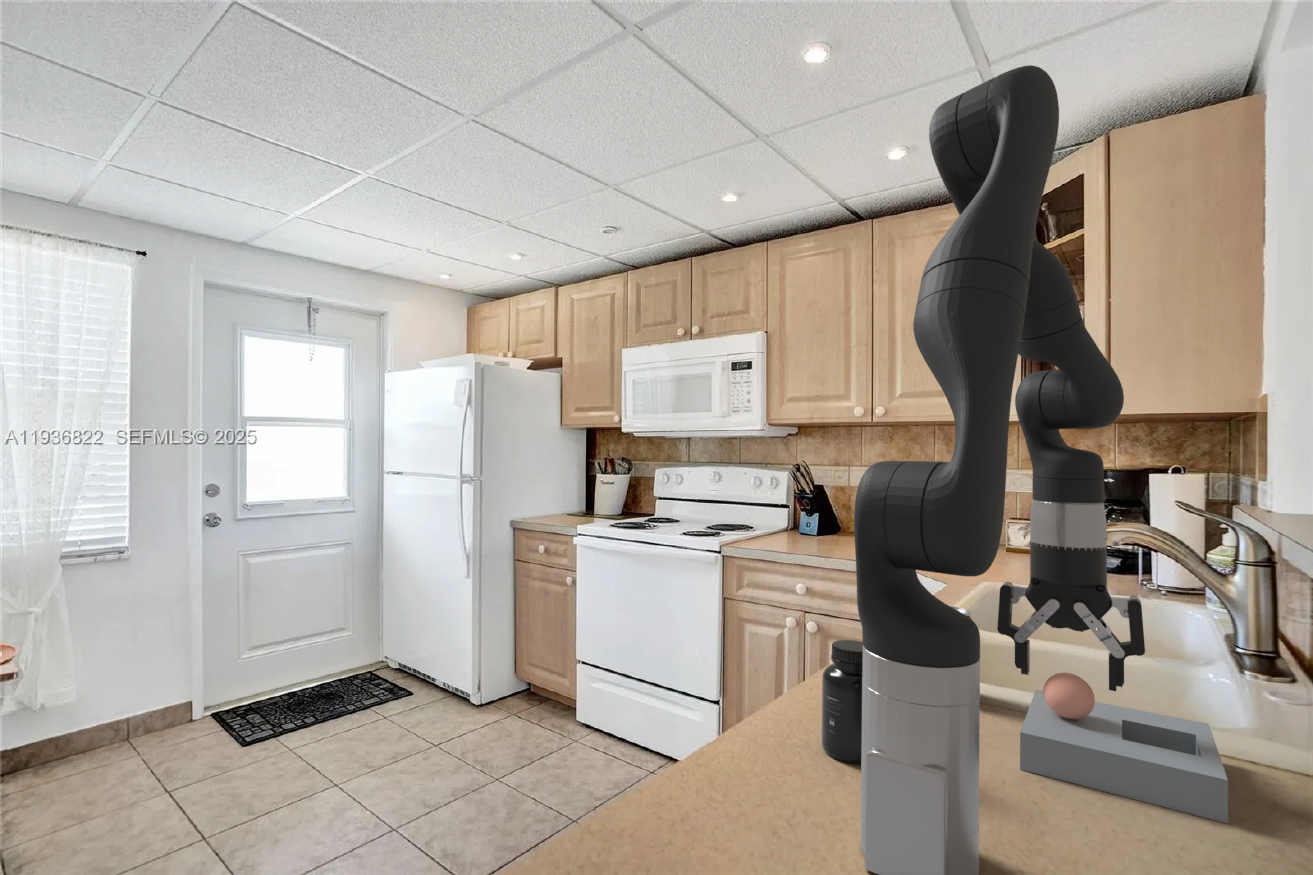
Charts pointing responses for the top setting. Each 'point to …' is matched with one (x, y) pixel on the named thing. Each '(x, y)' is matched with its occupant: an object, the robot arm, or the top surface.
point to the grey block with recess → (1129, 756)
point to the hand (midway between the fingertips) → (1067, 680)
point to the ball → (1069, 696)
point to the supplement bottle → (843, 702)
